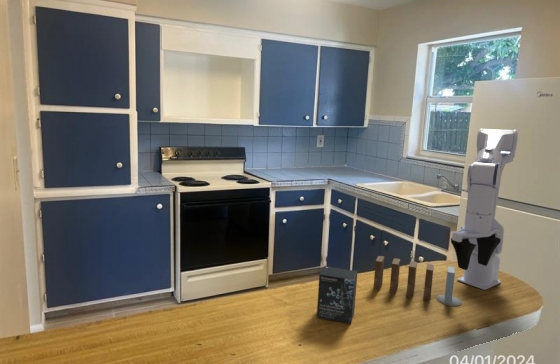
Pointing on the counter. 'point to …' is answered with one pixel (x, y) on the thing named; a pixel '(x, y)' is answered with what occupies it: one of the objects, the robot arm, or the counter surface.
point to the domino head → (449, 284)
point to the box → (336, 294)
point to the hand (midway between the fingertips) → (472, 266)
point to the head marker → (454, 303)
